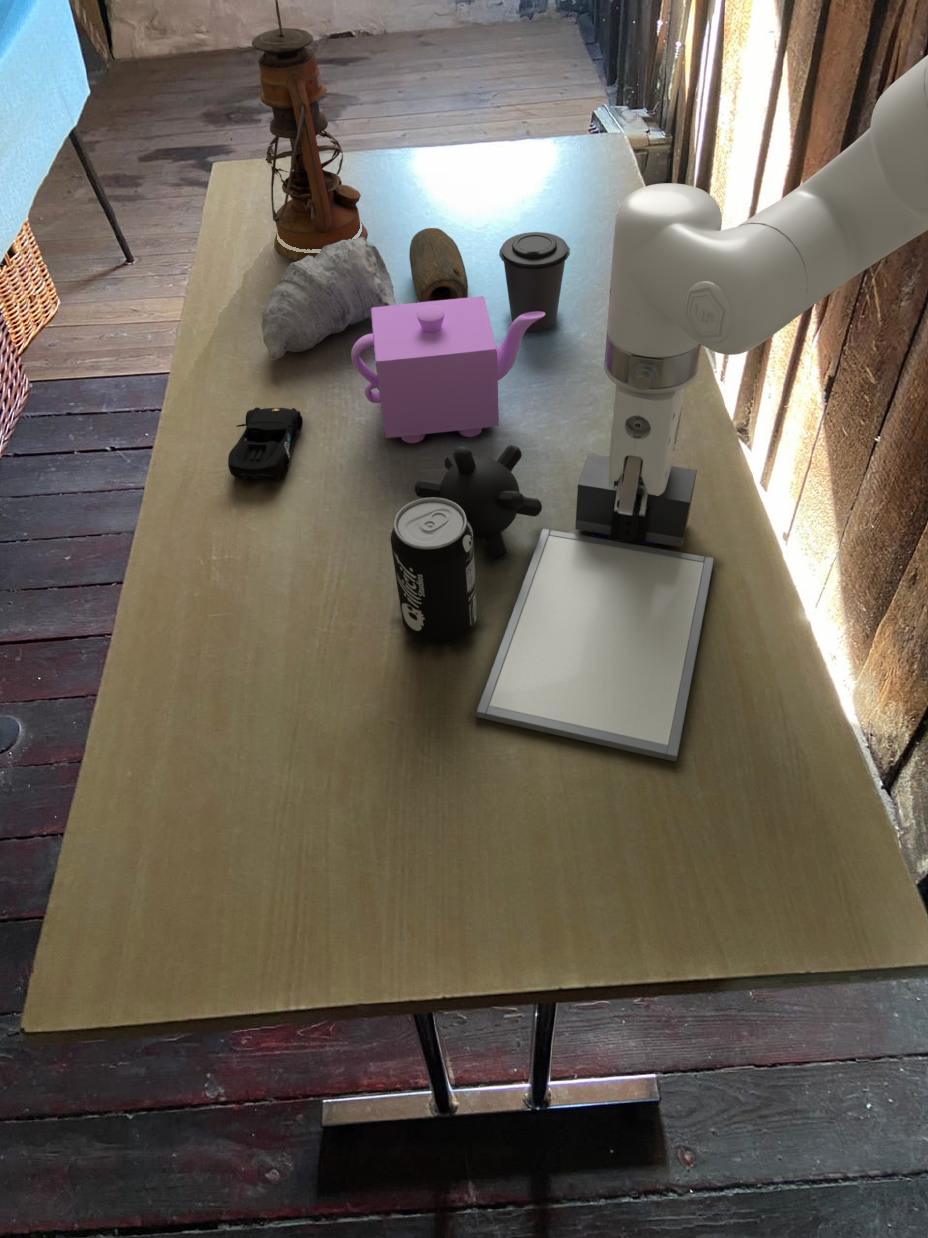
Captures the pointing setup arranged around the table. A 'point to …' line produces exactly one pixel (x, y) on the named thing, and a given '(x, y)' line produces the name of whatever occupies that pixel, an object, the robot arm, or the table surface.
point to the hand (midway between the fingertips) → (633, 518)
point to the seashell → (325, 296)
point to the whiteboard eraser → (664, 509)
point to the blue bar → (605, 537)
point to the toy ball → (483, 493)
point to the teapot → (438, 366)
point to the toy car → (265, 443)
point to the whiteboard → (601, 644)
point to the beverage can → (435, 570)
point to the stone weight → (437, 267)
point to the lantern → (303, 147)
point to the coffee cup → (534, 275)
